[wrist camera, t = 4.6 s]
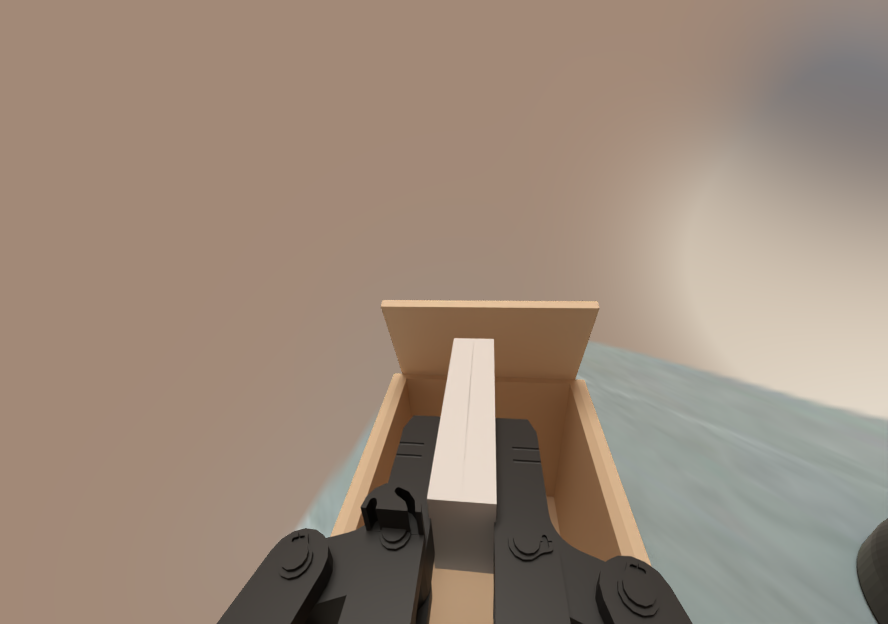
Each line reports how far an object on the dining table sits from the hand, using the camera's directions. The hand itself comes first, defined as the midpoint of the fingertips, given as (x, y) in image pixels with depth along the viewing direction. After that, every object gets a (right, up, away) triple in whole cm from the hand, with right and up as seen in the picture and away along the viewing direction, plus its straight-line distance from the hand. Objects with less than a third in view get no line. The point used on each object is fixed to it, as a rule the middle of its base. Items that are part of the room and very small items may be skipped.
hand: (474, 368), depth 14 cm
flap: (+1, 0, +8) cm, 8 cm away
